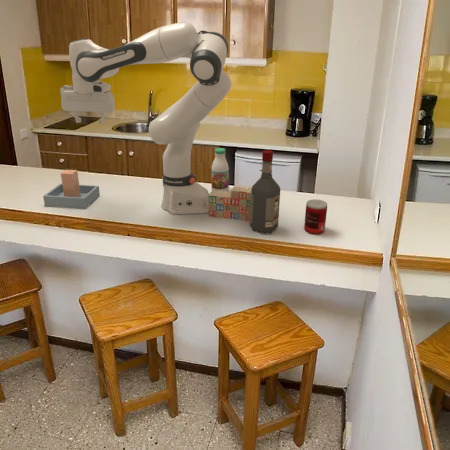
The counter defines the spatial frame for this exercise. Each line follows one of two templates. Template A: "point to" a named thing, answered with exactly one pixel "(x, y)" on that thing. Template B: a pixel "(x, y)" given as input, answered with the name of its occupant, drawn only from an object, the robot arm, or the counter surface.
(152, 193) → the counter surface
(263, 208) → the liquor
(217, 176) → the milk bottle
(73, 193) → the terracotta block
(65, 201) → the tray
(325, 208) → the canned food
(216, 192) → the stack of blocks
